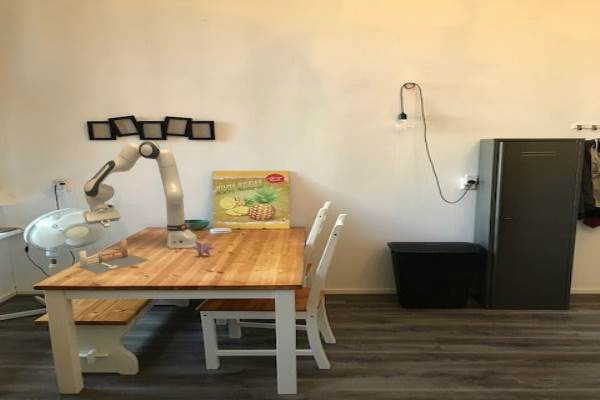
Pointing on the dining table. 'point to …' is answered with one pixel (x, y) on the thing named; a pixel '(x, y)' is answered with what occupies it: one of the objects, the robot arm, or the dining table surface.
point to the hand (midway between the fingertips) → (107, 226)
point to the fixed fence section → (84, 259)
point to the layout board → (114, 264)
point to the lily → (202, 248)
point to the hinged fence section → (123, 250)
